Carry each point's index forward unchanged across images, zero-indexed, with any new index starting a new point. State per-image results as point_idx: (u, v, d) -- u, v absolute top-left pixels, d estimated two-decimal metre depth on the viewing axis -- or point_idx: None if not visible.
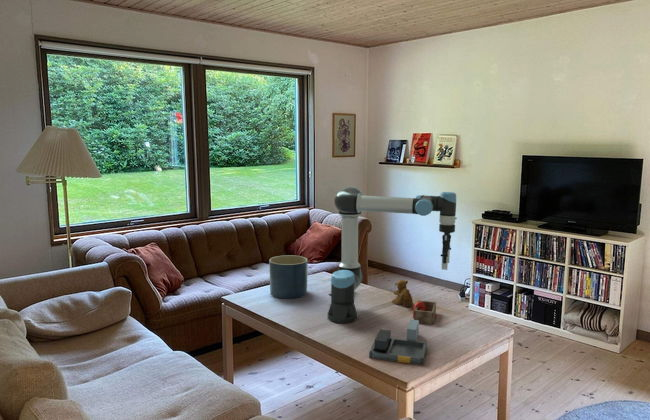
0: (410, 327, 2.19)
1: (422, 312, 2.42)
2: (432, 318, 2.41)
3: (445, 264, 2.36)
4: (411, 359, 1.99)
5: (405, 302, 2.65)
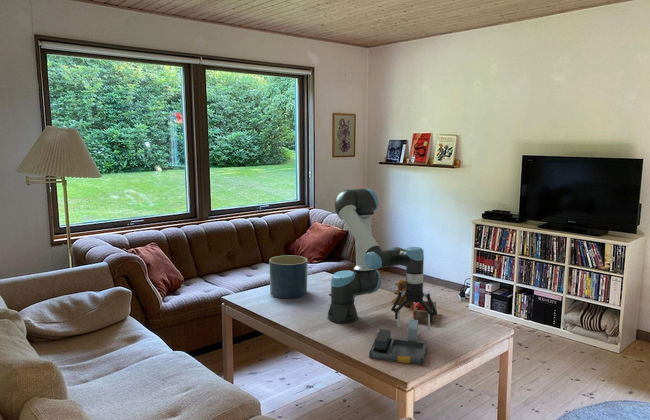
0: (411, 327, 2.19)
1: (422, 312, 2.42)
2: None
3: None
4: (411, 359, 1.99)
5: None
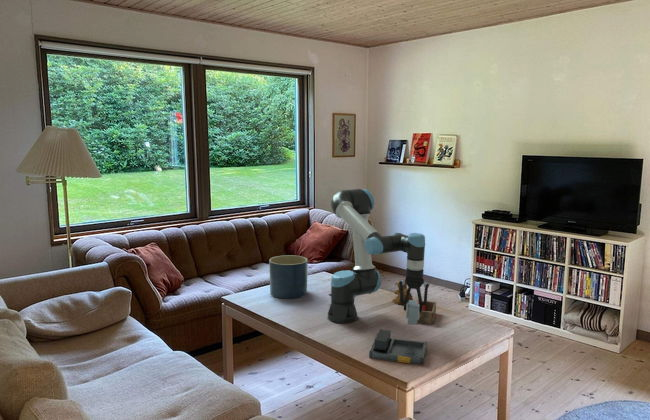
0: (411, 307, 2.18)
1: (422, 312, 2.42)
2: (432, 318, 2.41)
3: (406, 312, 2.23)
4: (411, 359, 1.99)
5: None
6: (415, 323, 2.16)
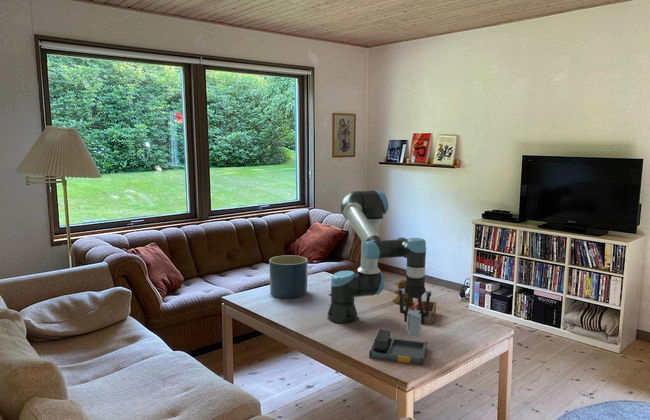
0: (412, 318, 2.01)
1: None
2: (432, 318, 2.41)
3: None
4: (411, 359, 1.99)
5: (406, 301, 2.66)
6: (417, 335, 1.99)
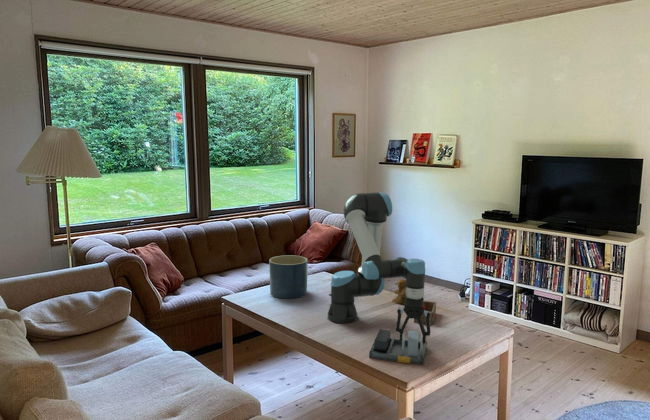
0: (411, 340, 2.02)
1: None
2: (432, 318, 2.41)
3: (402, 342, 2.08)
4: (411, 359, 1.99)
5: None
6: None
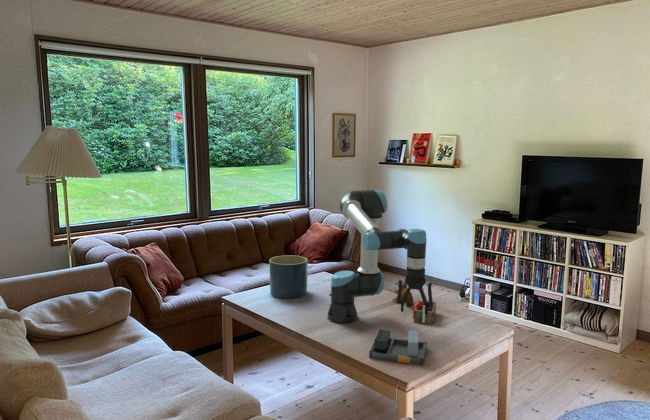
0: (411, 340, 2.02)
1: (422, 312, 2.42)
2: (432, 318, 2.41)
3: None
4: (411, 359, 1.99)
5: (406, 301, 2.67)
6: None
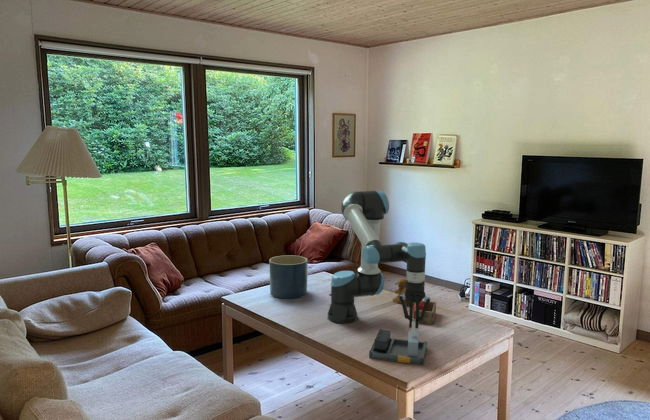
0: (411, 340, 2.02)
1: None
2: (432, 318, 2.41)
3: None
4: (411, 359, 1.99)
5: (406, 301, 2.67)
6: None
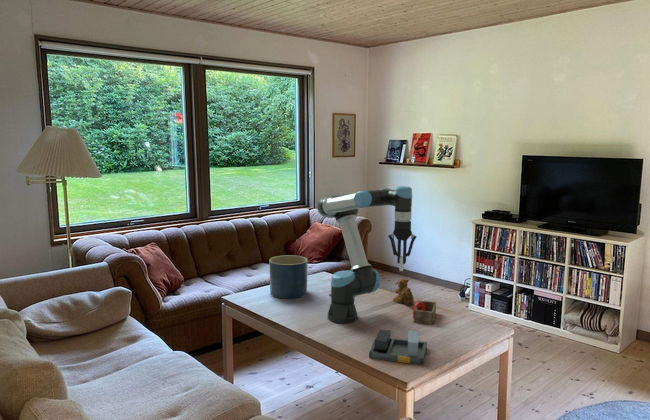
0: (411, 340, 2.02)
1: (422, 312, 2.42)
2: (432, 318, 2.41)
3: None
4: (411, 359, 1.99)
5: (406, 300, 2.67)
6: None
